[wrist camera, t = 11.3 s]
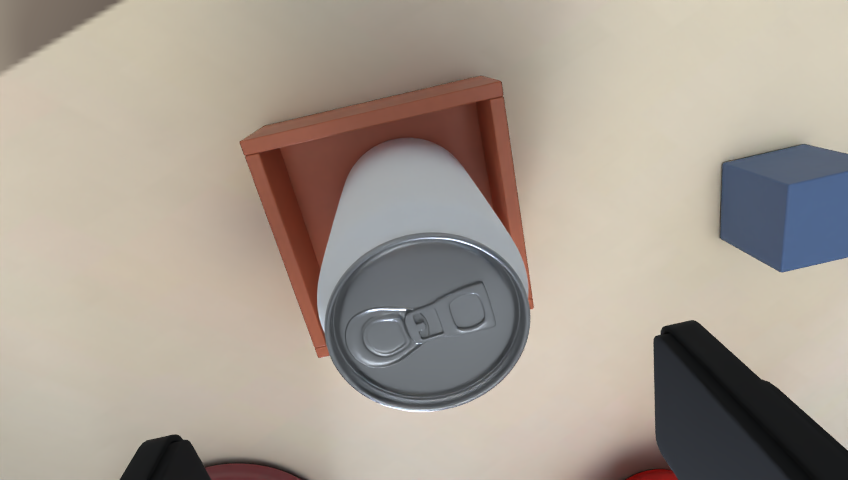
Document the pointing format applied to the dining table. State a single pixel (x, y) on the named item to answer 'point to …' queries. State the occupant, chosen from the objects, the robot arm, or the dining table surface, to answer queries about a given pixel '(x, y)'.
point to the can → (420, 282)
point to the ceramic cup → (654, 475)
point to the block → (787, 206)
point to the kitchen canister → (247, 472)
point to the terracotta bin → (347, 142)
